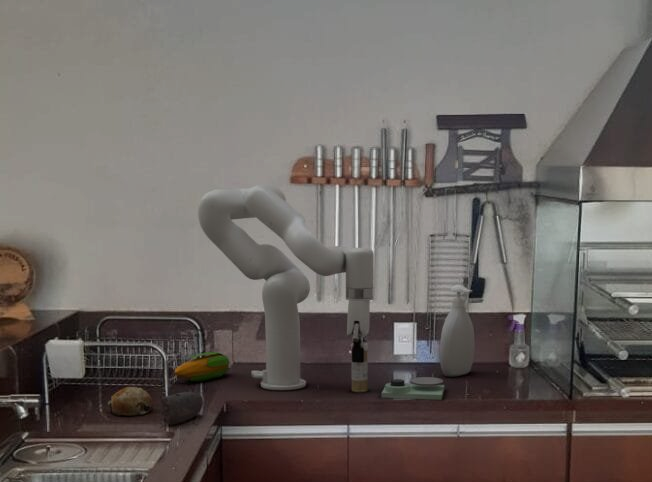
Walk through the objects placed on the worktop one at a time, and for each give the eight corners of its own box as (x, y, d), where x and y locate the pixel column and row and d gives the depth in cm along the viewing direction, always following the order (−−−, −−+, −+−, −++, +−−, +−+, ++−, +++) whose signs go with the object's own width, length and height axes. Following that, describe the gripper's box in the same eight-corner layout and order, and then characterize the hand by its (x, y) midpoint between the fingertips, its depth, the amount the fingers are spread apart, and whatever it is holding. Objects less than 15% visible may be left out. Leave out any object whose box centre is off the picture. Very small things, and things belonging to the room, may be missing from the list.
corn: (235, 349, 265) (183, 359, 248) (237, 374, 266) (185, 386, 249) (217, 348, 269) (165, 358, 253) (219, 373, 270) (167, 385, 254)
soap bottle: (453, 380, 261) (455, 288, 256) (432, 376, 267) (434, 285, 262) (484, 373, 272) (486, 284, 267) (463, 369, 277) (465, 282, 272)
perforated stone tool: (193, 412, 221) (193, 384, 220) (211, 414, 219) (210, 387, 218) (153, 426, 208) (152, 397, 207) (172, 429, 206) (171, 399, 205)
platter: (408, 385, 241) (408, 383, 240) (412, 378, 249) (412, 376, 249) (442, 386, 240) (442, 384, 239) (444, 379, 248) (444, 377, 248)
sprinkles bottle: (361, 388, 250) (361, 340, 247) (371, 391, 246) (371, 343, 244) (347, 390, 247) (347, 342, 245) (357, 393, 243) (357, 344, 241)
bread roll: (129, 432, 216) (139, 404, 214) (96, 410, 219) (107, 382, 217) (154, 422, 226) (164, 395, 223) (123, 401, 228) (133, 375, 226)
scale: (381, 398, 239) (381, 387, 238) (387, 388, 251) (387, 377, 250) (441, 400, 237) (441, 389, 236) (444, 390, 249) (444, 379, 248)
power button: (390, 387, 239) (390, 381, 239) (391, 384, 243) (391, 379, 243) (403, 387, 239) (403, 382, 239) (405, 385, 242) (405, 379, 242)
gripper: (351, 290, 251) (351, 354, 254) (340, 297, 234) (340, 366, 237) (377, 290, 250) (377, 355, 253) (368, 297, 233) (368, 366, 236)
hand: (359, 359), depth 245 cm, fingers closed on sprinkles bottle, 4 cm apart
